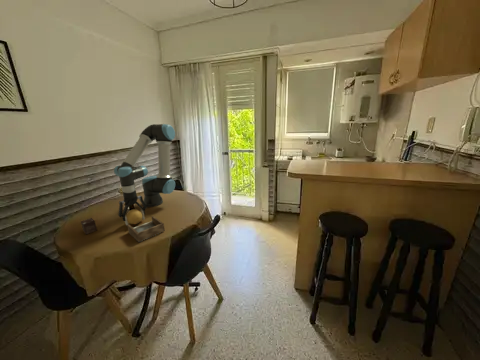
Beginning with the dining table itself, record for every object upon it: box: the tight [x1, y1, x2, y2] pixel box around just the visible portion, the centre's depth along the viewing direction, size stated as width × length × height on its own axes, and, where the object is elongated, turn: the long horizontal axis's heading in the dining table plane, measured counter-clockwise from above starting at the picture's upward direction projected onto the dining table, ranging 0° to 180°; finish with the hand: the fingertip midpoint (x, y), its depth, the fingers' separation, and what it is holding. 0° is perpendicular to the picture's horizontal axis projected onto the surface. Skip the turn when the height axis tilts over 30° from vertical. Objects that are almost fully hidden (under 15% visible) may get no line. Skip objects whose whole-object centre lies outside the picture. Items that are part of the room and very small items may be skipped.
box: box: [80, 217, 98, 235], centre depth 128 cm, size 6×6×7 cm
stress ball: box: [125, 208, 142, 225], centre depth 135 cm, size 10×10×10 cm
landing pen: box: [126, 215, 166, 243], centre depth 126 cm, size 16×16×6 cm
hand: (135, 221), depth 136 cm, fingers closed on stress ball, 10 cm apart
